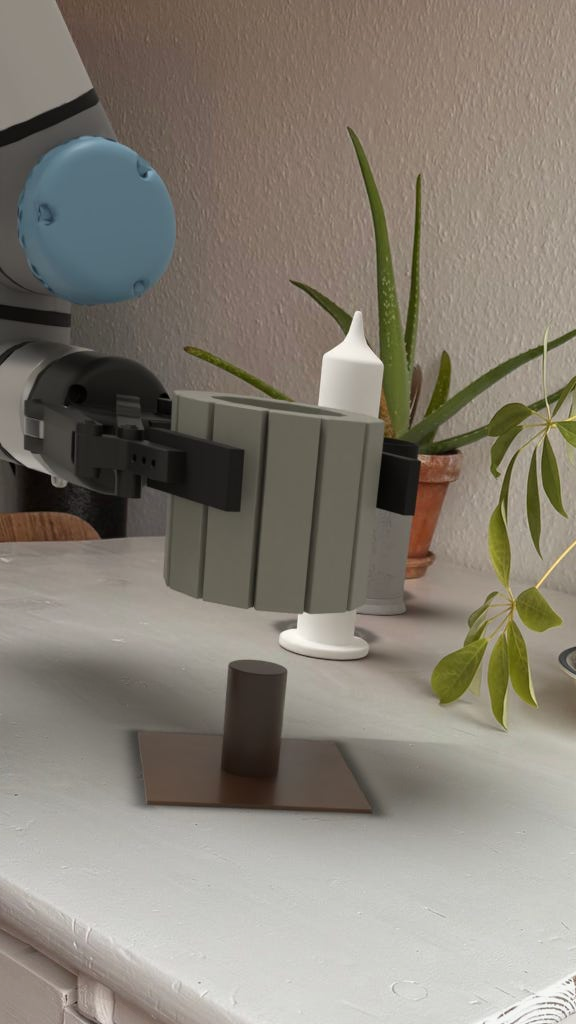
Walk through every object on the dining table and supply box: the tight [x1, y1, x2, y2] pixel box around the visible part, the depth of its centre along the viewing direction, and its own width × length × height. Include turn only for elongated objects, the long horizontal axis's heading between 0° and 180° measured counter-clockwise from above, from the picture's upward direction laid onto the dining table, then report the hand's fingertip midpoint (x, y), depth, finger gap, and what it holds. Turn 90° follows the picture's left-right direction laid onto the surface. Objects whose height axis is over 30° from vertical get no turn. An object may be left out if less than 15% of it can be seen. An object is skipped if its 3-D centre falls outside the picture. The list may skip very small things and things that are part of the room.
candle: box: [278, 310, 385, 661], centre depth 98 cm, size 7×7×25 cm
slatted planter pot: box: [162, 389, 386, 615], centre depth 64 cm, size 10×10×9 cm
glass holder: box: [356, 436, 420, 616], centre depth 117 cm, size 9×14×15 cm, turn 113°
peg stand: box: [137, 659, 373, 814], centre depth 67 cm, size 11×11×7 cm
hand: (329, 484), depth 61 cm, fingers closed on slatted planter pot, 10 cm apart
